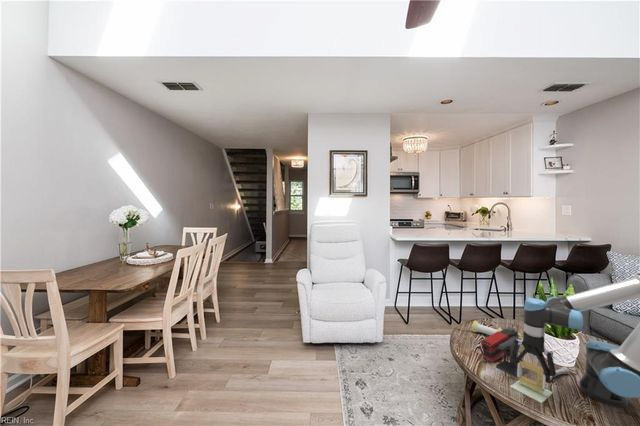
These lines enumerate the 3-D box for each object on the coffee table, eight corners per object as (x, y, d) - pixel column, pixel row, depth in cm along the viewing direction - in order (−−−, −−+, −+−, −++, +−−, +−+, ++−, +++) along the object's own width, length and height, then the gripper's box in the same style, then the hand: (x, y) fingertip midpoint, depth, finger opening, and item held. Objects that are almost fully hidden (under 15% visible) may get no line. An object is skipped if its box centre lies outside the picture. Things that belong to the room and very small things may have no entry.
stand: (526, 372, 138) (527, 341, 137) (510, 384, 129) (511, 350, 128) (504, 362, 146) (505, 332, 145) (488, 372, 137) (489, 341, 136)
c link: (544, 390, 121) (545, 369, 121) (542, 393, 120) (543, 370, 120) (521, 379, 129) (522, 358, 129) (518, 381, 128) (519, 360, 127)
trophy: (470, 321, 178) (527, 338, 156) (475, 318, 183) (530, 334, 161) (470, 333, 179) (526, 352, 156) (474, 330, 184) (529, 348, 161)
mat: (552, 393, 123) (552, 392, 123) (541, 403, 116) (541, 402, 116) (522, 378, 133) (522, 377, 133) (510, 387, 127) (510, 386, 127)
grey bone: (538, 378, 133) (546, 383, 129) (539, 368, 133) (548, 372, 129) (562, 375, 139) (571, 380, 135) (563, 365, 139) (572, 369, 135)
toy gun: (521, 352, 154) (518, 328, 152) (492, 370, 146) (489, 345, 144) (511, 347, 159) (508, 324, 157) (483, 365, 151) (480, 340, 149)
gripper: (568, 342, 116) (565, 393, 117) (510, 322, 135) (509, 366, 136) (561, 346, 112) (558, 399, 113) (503, 326, 131) (501, 371, 132)
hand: (531, 381), depth 124 cm, fingers closed on c link, 9 cm apart
